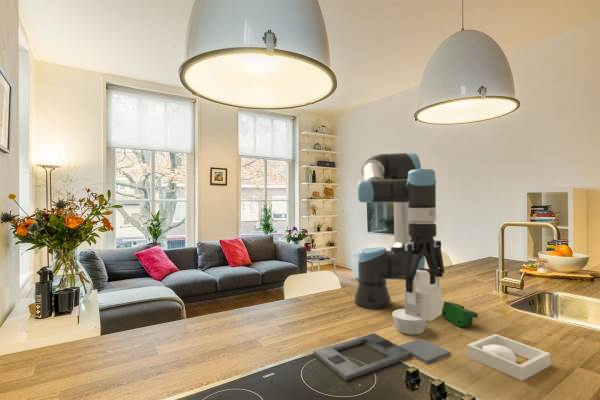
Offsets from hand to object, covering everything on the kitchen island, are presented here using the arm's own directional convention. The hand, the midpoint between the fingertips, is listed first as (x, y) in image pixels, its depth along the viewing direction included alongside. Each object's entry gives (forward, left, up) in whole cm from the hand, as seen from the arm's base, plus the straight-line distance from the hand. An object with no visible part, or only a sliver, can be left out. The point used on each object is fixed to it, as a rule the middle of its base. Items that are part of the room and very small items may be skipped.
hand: (423, 300), depth 90 cm
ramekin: (-13, +9, -15) cm, 22 cm away
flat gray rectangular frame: (-7, -17, -15) cm, 24 cm away
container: (0, 0, -4) cm, 4 cm away
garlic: (+13, +14, -15) cm, 24 cm away
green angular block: (-8, +29, -15) cm, 34 cm away
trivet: (0, 0, -15) cm, 15 cm away
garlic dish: (+15, +15, -15) cm, 26 cm away
